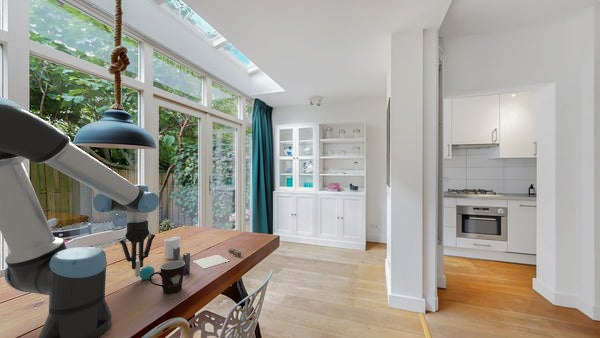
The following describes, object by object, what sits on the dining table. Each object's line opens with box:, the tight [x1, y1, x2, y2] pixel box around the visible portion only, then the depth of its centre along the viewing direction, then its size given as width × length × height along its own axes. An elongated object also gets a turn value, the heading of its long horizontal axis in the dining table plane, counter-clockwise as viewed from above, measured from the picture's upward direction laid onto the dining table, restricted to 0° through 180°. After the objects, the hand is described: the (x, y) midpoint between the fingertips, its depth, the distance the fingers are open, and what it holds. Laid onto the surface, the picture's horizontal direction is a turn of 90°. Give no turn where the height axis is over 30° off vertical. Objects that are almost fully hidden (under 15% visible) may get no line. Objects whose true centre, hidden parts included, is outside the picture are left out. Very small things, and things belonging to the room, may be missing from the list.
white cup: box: [163, 236, 181, 260], centre depth 128 cm, size 8×8×10 cm
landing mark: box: [192, 254, 230, 270], centre depth 121 cm, size 14×14×1 cm
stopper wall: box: [228, 248, 242, 258], centre depth 132 cm, size 10×2×2 cm, turn 47°
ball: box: [139, 265, 156, 281], centre depth 100 cm, size 6×6×6 cm
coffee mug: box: [148, 260, 185, 295], centre depth 90 cm, size 12×9×10 cm
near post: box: [182, 252, 191, 276], centre depth 106 cm, size 3×3×9 cm
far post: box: [172, 246, 181, 261], centre depth 115 cm, size 3×3×9 cm
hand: (137, 275), depth 98 cm, fingers closed
